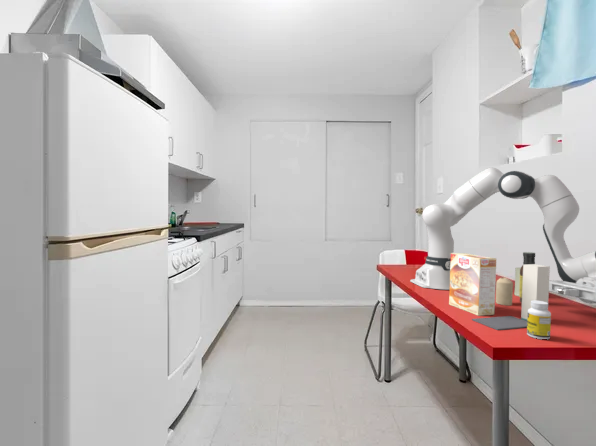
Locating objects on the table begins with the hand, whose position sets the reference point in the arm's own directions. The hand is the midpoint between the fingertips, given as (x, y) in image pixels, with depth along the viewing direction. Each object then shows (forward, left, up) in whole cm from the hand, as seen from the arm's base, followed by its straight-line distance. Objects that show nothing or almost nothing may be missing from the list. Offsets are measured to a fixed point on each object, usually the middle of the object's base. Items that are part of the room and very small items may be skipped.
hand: (560, 291), depth 116 cm
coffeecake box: (-16, -22, -9) cm, 28 cm away
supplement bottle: (+12, -24, -9) cm, 29 cm away
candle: (-20, -2, -9) cm, 22 cm away
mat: (0, -23, -9) cm, 25 cm away
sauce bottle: (-19, +9, -9) cm, 23 cm away
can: (-29, +20, -9) cm, 36 cm away
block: (0, -11, -9) cm, 14 cm away
